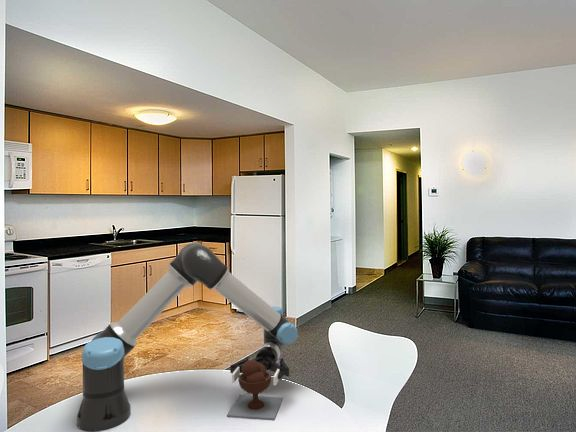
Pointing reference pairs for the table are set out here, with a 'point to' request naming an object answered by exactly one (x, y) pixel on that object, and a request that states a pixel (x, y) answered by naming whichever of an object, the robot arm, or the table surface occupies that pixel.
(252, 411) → the slate mat
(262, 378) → the ice cream bowl
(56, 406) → the table surface
